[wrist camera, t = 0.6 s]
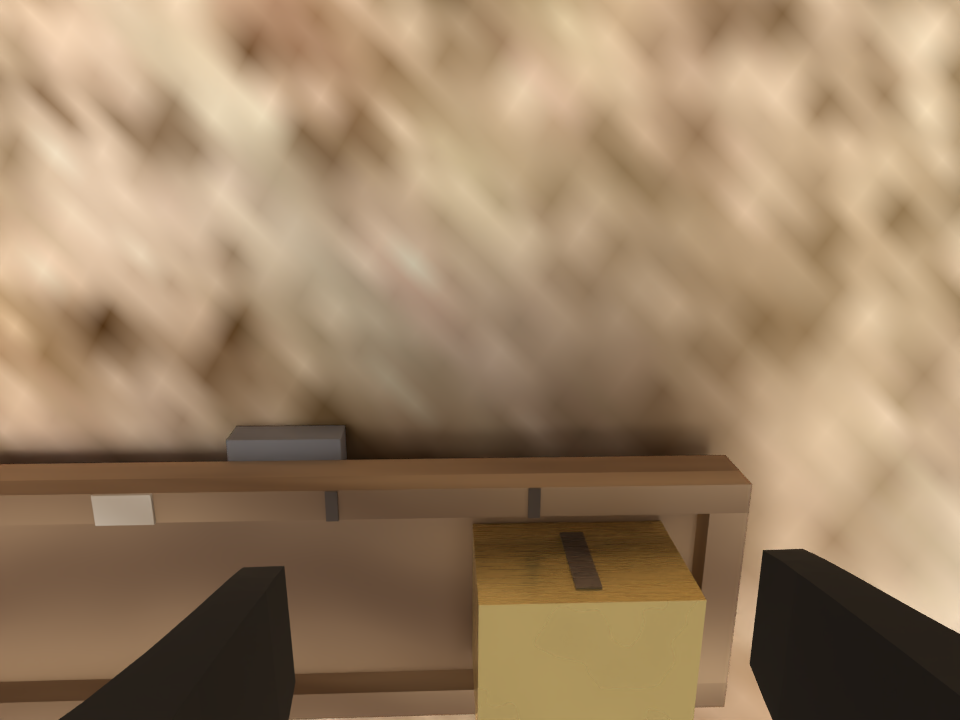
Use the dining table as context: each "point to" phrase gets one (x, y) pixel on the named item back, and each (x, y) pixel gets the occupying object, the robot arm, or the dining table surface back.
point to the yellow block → (583, 622)
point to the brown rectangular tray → (321, 560)
